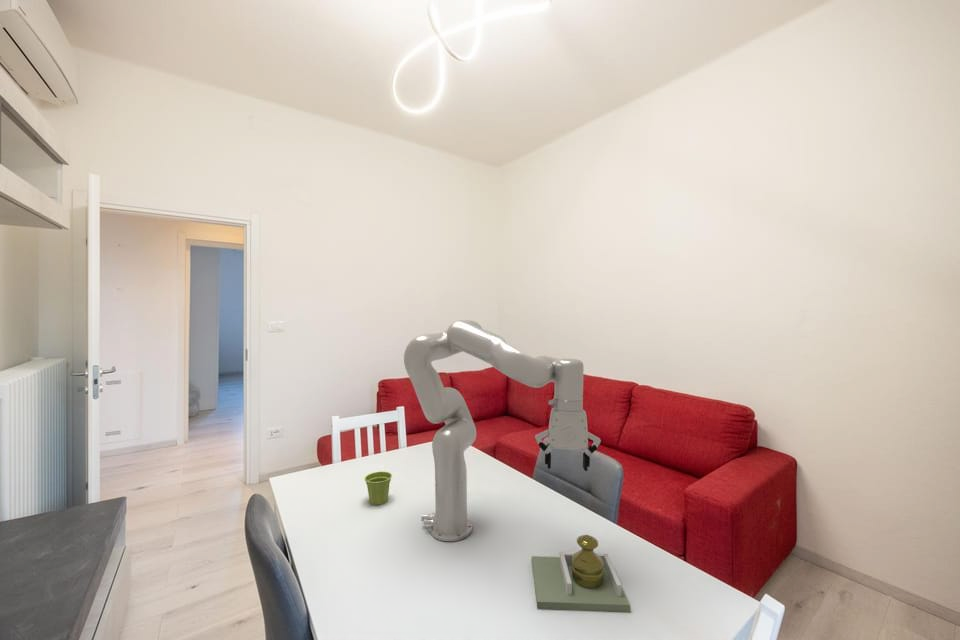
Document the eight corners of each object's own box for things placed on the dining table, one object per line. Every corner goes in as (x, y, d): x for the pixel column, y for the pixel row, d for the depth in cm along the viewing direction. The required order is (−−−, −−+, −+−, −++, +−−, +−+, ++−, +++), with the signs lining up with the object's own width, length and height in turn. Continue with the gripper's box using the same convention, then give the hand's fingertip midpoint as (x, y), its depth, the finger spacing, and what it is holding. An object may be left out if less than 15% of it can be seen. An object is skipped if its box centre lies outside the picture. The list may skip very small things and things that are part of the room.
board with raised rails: (537, 608, 84) (537, 590, 84) (531, 562, 100) (531, 546, 100) (630, 611, 83) (629, 593, 83) (609, 564, 99) (609, 548, 99)
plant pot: (358, 505, 131) (358, 479, 131) (376, 493, 140) (375, 469, 140) (381, 510, 128) (381, 484, 127) (397, 497, 136) (397, 473, 136)
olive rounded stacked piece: (599, 593, 86) (599, 549, 86) (567, 582, 90) (567, 539, 90) (607, 574, 92) (606, 533, 92) (576, 564, 96) (576, 525, 96)
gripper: (536, 406, 100) (535, 471, 100) (604, 409, 98) (602, 475, 98) (535, 400, 107) (533, 460, 108) (598, 403, 106) (596, 464, 106)
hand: (566, 468), depth 103 cm, fingers open, 9 cm apart
